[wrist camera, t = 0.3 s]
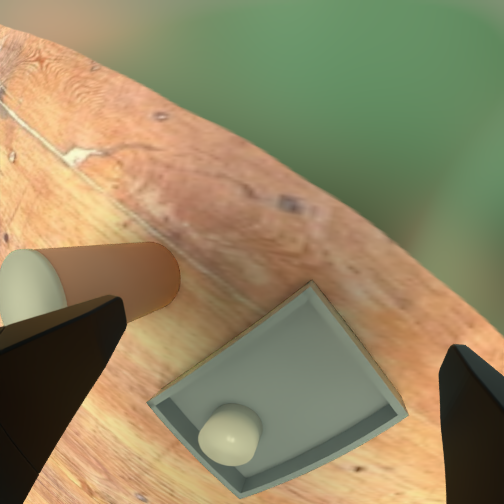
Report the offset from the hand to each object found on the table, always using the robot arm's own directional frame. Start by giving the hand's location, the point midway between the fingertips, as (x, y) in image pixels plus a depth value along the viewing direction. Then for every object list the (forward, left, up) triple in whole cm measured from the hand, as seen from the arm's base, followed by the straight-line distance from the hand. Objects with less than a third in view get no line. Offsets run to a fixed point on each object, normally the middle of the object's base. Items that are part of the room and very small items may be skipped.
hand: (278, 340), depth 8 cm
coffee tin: (-10, +7, -15) cm, 20 cm away
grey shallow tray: (-8, -7, -15) cm, 19 cm away
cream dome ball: (-12, -7, -15) cm, 20 cm away
